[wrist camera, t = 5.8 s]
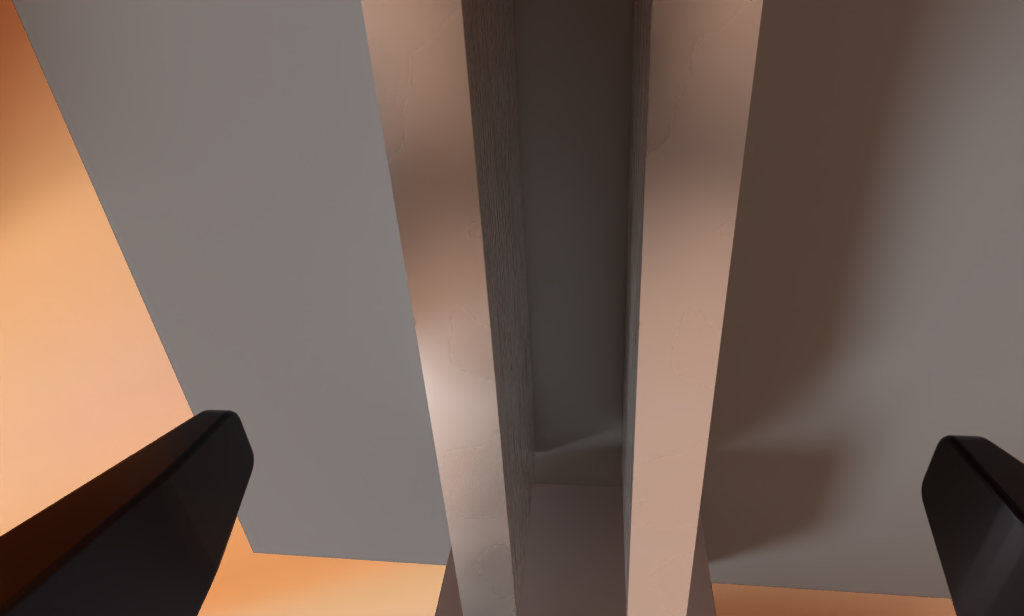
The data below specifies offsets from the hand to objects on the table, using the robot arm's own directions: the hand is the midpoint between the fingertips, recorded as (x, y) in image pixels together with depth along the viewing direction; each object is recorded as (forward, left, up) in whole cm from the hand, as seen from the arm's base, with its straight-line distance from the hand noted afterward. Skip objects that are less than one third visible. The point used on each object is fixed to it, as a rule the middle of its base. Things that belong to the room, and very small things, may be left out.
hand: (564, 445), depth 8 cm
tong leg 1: (+2, +1, -5) cm, 5 cm away
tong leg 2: (+2, -1, -5) cm, 5 cm away
